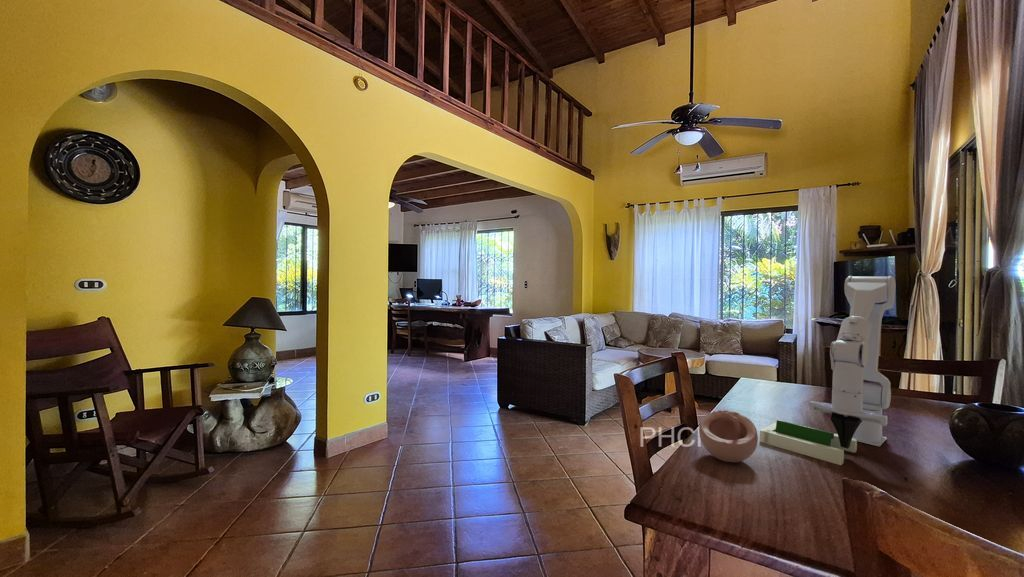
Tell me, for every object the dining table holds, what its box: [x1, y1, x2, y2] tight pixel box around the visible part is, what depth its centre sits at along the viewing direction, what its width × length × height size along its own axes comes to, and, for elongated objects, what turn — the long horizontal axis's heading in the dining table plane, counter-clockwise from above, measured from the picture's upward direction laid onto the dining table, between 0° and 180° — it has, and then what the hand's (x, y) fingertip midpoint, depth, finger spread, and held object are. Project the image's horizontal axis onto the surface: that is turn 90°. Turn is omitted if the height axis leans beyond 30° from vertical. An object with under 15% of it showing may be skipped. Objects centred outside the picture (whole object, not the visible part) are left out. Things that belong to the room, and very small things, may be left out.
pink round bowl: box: [698, 409, 759, 463], centre depth 95 cm, size 12×12×12 cm
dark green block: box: [775, 419, 835, 447], centre depth 105 cm, size 12×6×9 cm, turn 34°
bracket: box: [759, 419, 858, 466], centre depth 105 cm, size 14×17×3 cm
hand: (845, 446), depth 99 cm, fingers closed
